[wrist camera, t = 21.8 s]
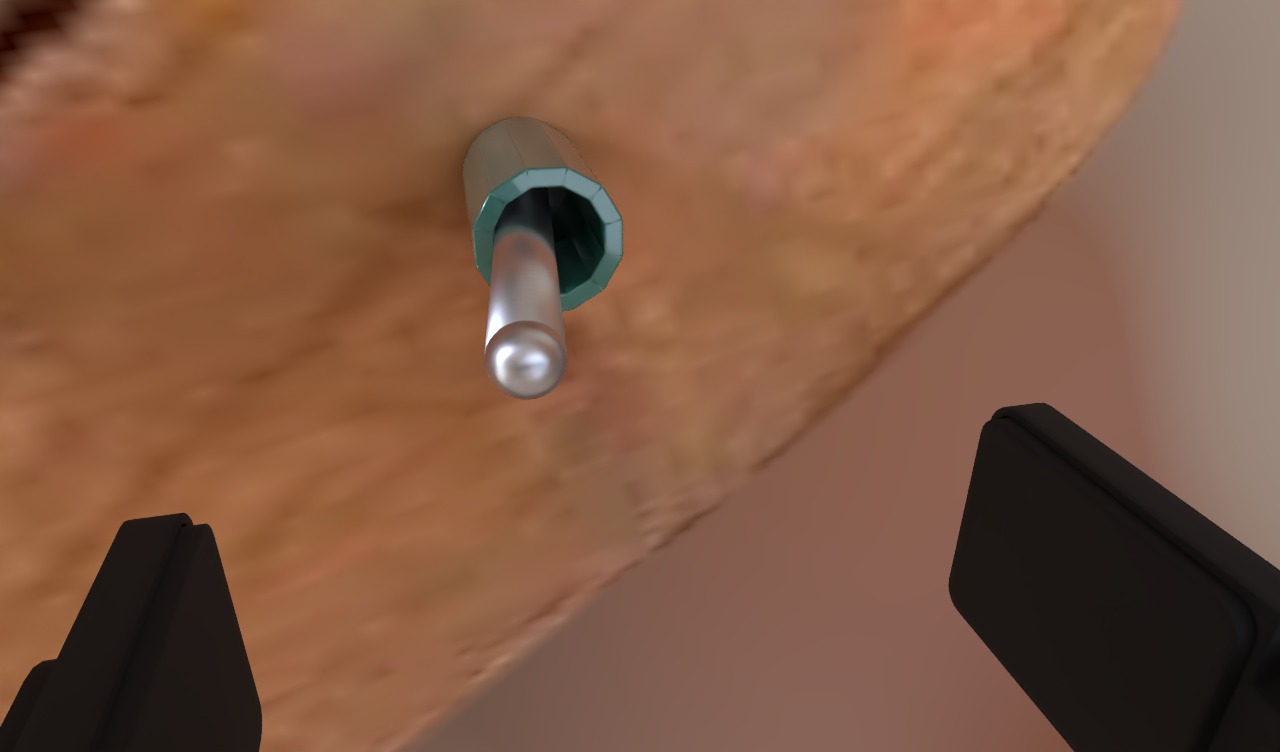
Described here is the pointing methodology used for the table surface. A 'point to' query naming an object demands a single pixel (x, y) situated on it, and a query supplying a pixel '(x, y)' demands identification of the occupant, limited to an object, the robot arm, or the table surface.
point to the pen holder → (577, 201)
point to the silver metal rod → (525, 302)
